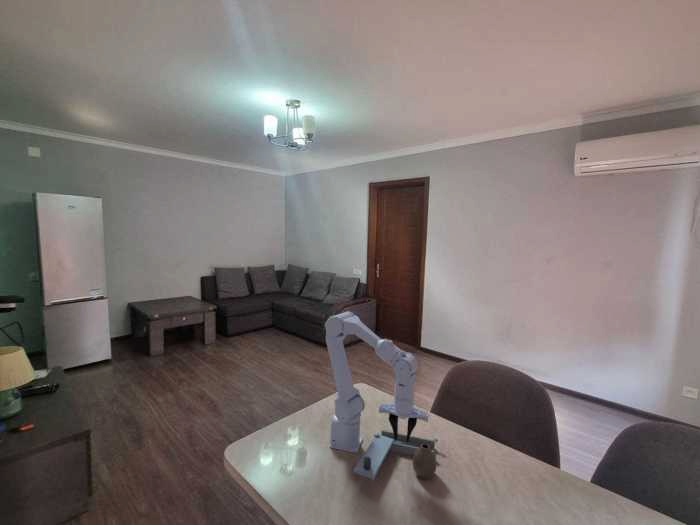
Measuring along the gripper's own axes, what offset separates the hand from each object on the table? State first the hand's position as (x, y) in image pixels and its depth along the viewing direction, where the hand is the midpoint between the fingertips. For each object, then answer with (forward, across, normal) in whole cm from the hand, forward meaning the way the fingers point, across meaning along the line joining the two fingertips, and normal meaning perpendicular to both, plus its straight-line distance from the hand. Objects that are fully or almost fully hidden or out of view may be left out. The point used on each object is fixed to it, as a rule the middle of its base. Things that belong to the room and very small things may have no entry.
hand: (401, 438), depth 95 cm
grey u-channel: (+9, +1, +10) cm, 14 cm away
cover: (+6, -8, -1) cm, 10 cm away
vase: (+10, +7, 0) cm, 12 cm away
